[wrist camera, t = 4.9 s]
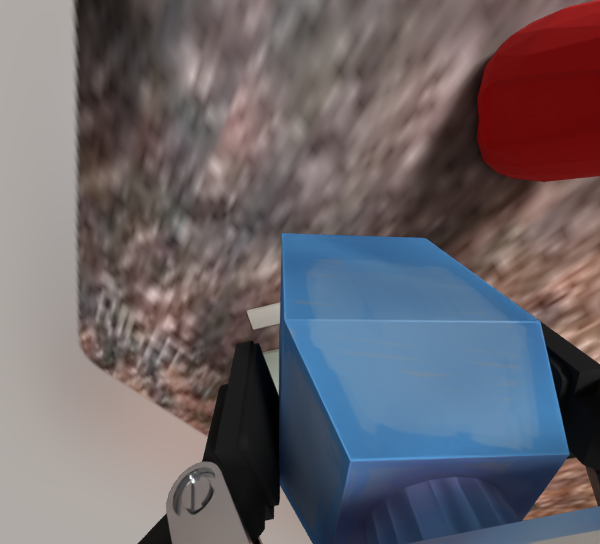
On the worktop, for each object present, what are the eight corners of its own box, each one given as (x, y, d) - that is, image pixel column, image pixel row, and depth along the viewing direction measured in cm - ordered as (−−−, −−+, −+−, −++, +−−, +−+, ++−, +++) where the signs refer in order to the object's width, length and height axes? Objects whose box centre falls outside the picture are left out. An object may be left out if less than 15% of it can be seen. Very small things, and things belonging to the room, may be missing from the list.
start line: (247, 310, 27) (246, 312, 26) (419, 269, 26) (421, 270, 26) (253, 327, 28) (253, 329, 27) (421, 288, 27) (422, 289, 26)
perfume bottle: (425, 238, 13) (1292, 869, 2) (397, 350, 15) (679, 875, 4) (282, 233, 12) (302, 1056, 1) (278, 350, 15) (276, 939, 4)
